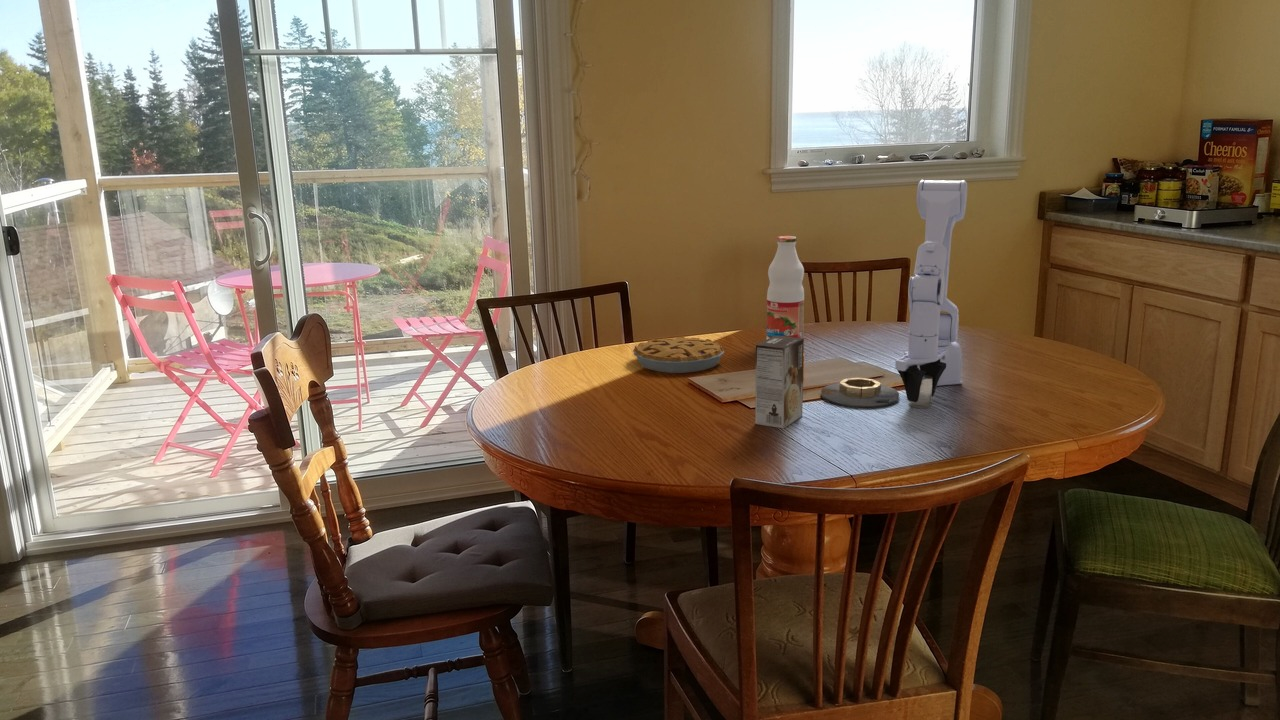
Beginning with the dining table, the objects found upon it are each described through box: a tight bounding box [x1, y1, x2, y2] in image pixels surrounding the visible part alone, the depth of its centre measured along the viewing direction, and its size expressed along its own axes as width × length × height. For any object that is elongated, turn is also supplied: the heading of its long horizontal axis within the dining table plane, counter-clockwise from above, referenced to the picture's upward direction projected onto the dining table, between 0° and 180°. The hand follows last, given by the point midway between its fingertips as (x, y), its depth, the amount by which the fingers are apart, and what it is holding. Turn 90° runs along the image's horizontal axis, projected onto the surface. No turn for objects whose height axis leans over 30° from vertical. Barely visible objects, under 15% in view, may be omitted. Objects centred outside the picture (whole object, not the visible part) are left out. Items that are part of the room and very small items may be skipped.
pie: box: [633, 336, 725, 374], centre depth 233 cm, size 22×22×5 cm
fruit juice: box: [766, 235, 805, 340], centre depth 245 cm, size 9×9×28 cm
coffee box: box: [754, 336, 805, 429], centre depth 186 cm, size 9×6×16 cm
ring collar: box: [820, 377, 900, 409], centre depth 202 cm, size 16×16×3 cm
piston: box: [908, 375, 933, 410], centre depth 195 cm, size 4×4×6 cm
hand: (920, 398), depth 196 cm, fingers closed on piston, 4 cm apart
